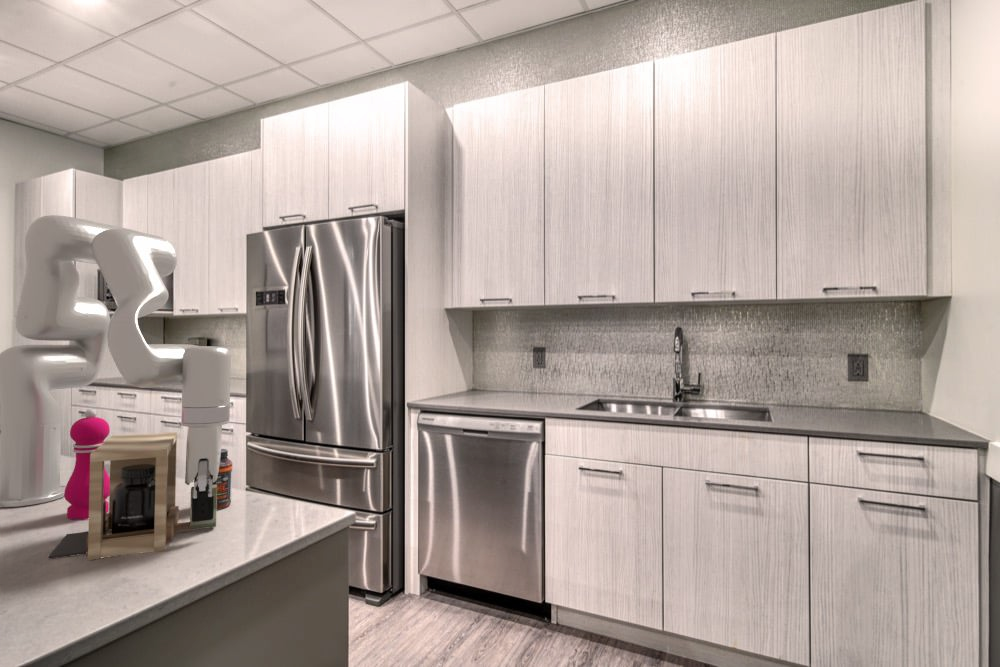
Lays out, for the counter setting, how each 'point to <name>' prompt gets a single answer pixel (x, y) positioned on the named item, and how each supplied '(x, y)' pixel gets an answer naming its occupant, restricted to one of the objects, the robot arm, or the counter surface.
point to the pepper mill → (85, 464)
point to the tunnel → (121, 454)
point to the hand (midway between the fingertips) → (204, 511)
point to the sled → (170, 525)
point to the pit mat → (70, 545)
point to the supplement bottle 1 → (134, 500)
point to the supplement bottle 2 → (224, 481)
